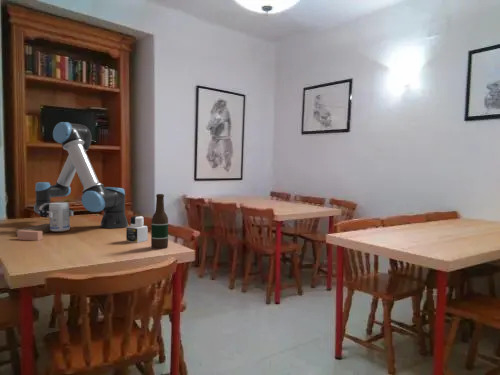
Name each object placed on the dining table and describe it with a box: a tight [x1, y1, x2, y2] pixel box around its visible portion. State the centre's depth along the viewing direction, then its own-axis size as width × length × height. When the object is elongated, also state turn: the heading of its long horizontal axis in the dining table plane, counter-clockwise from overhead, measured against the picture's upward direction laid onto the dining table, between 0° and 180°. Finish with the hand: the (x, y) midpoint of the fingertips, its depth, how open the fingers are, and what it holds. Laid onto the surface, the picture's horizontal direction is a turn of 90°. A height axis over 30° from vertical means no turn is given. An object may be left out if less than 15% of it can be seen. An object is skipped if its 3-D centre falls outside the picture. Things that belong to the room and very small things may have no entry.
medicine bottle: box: [125, 215, 149, 244], centre depth 177 cm, size 7×7×12 cm
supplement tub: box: [48, 201, 71, 232], centre depth 196 cm, size 10×10×15 cm
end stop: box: [16, 230, 43, 241], centre depth 176 cm, size 11×3×4 cm, turn 80°
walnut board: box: [15, 223, 52, 237], centre depth 193 cm, size 6×21×3 cm, turn 170°
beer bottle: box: [150, 193, 169, 250], centre depth 164 cm, size 8×8×24 cm
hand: (62, 214), depth 193 cm, fingers closed on supplement tub, 9 cm apart
